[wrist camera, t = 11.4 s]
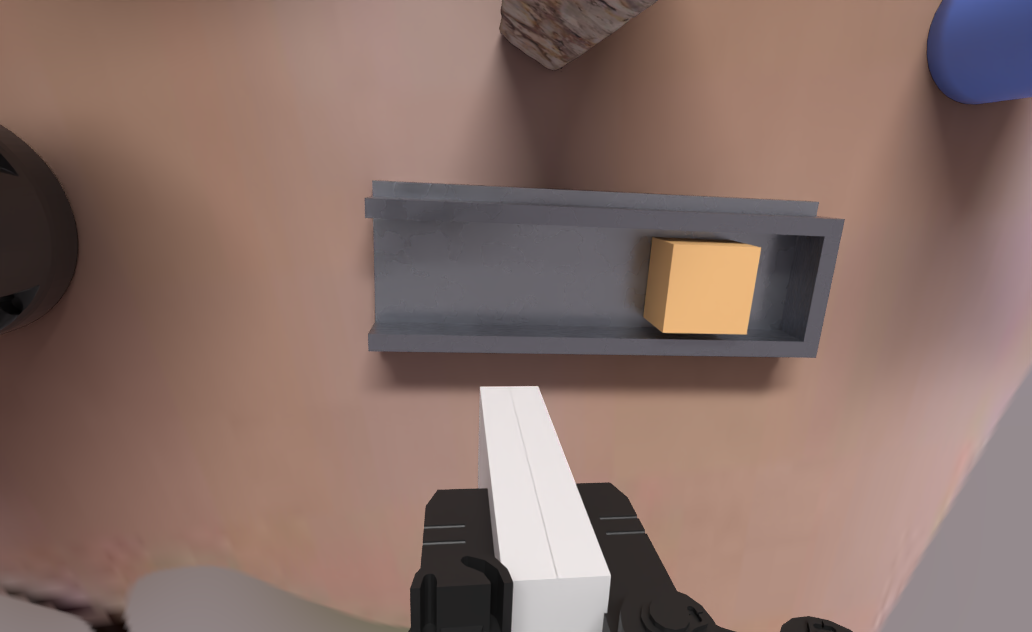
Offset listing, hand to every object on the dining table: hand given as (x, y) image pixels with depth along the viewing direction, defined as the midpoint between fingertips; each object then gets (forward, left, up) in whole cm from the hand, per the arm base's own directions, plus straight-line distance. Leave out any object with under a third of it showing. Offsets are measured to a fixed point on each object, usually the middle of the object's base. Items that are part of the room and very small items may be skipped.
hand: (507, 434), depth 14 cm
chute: (+9, 0, -26) cm, 27 cm away
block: (+15, 0, -25) cm, 29 cm away
